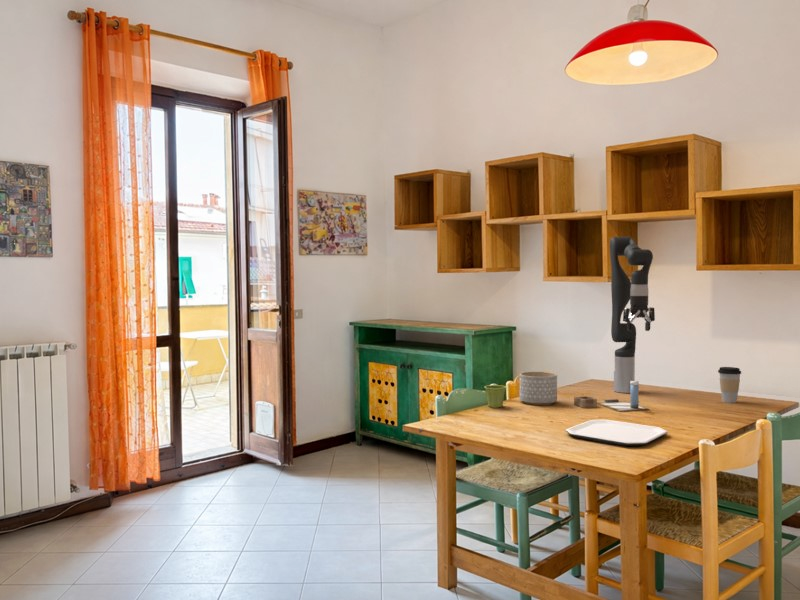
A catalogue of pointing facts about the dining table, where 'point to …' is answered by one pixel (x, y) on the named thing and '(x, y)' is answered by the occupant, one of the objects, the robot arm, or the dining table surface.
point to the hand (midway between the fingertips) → (638, 331)
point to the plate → (616, 432)
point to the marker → (634, 394)
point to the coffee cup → (729, 383)
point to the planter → (538, 388)
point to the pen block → (585, 401)
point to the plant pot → (495, 395)
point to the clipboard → (620, 405)
